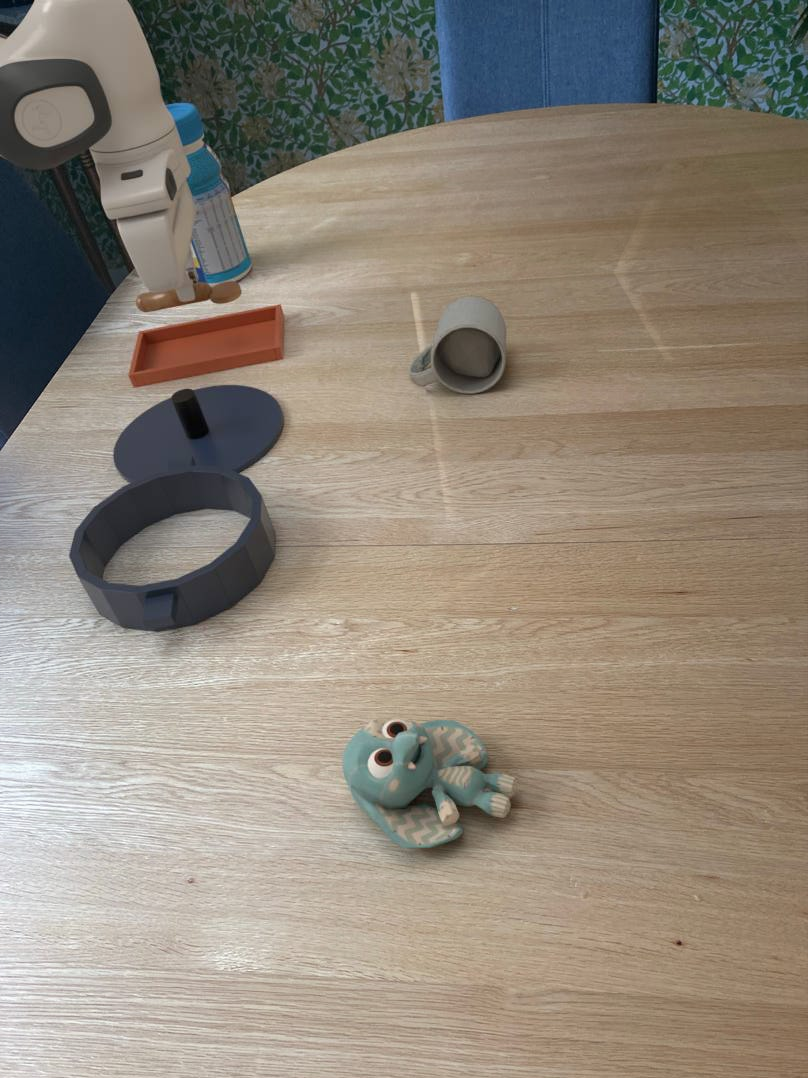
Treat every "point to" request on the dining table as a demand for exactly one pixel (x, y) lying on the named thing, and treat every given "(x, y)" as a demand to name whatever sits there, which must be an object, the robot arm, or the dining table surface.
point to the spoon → (203, 293)
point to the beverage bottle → (210, 206)
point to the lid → (201, 431)
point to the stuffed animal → (421, 778)
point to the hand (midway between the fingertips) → (190, 291)
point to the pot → (156, 502)
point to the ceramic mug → (465, 348)
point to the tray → (208, 346)
